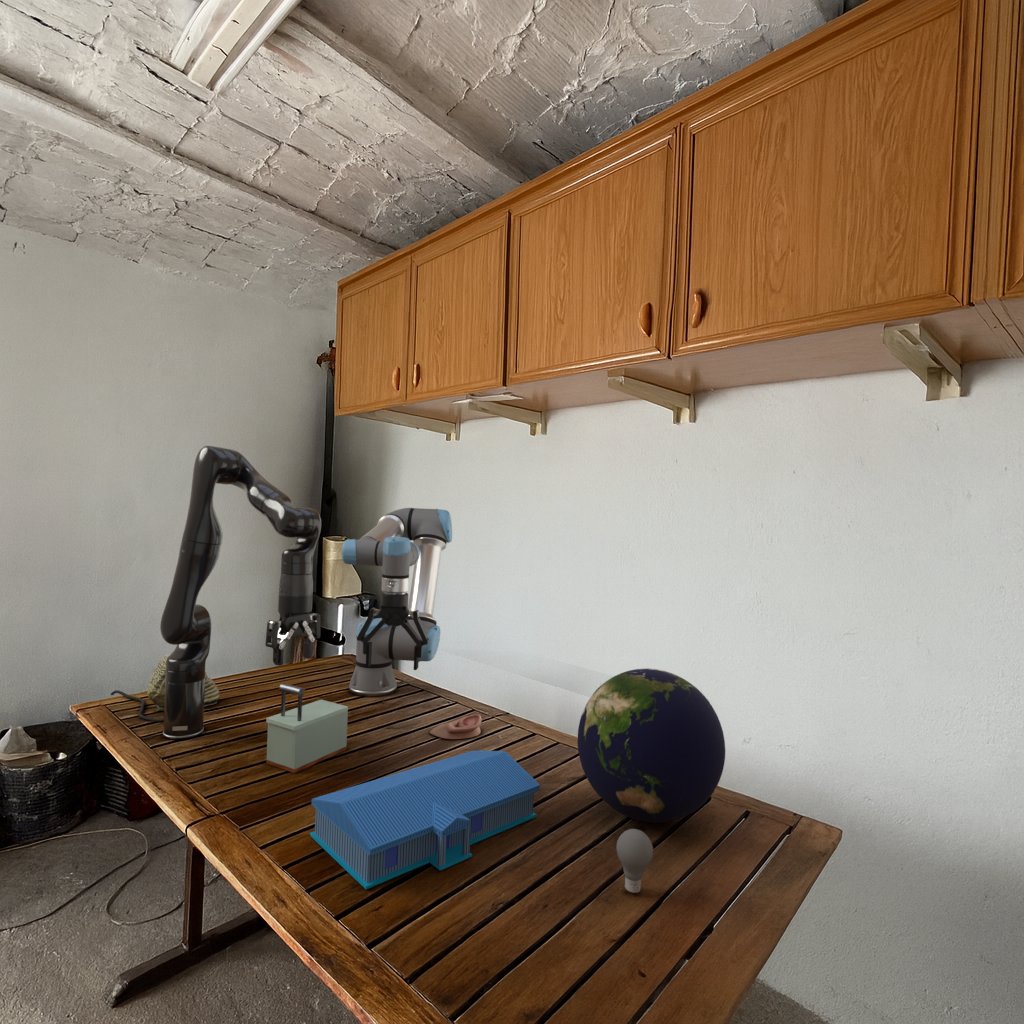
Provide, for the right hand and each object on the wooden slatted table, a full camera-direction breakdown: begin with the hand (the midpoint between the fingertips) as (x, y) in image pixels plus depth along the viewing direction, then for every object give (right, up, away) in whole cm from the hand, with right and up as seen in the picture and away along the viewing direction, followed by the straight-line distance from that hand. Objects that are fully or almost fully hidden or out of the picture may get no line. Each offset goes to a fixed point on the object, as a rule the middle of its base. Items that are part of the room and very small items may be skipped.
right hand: (392, 667), depth 178 cm
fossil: (-62, -13, +7) cm, 64 cm away
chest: (-16, -16, -24) cm, 33 cm away
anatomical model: (+18, -17, -5) cm, 25 cm away
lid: (-16, -6, -25) cm, 30 cm away
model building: (+18, -18, -56) cm, 61 cm away
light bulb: (+54, -20, -73) cm, 93 cm away
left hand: (-18, +9, -30) cm, 36 cm away
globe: (+62, -19, -46) cm, 80 cm away
